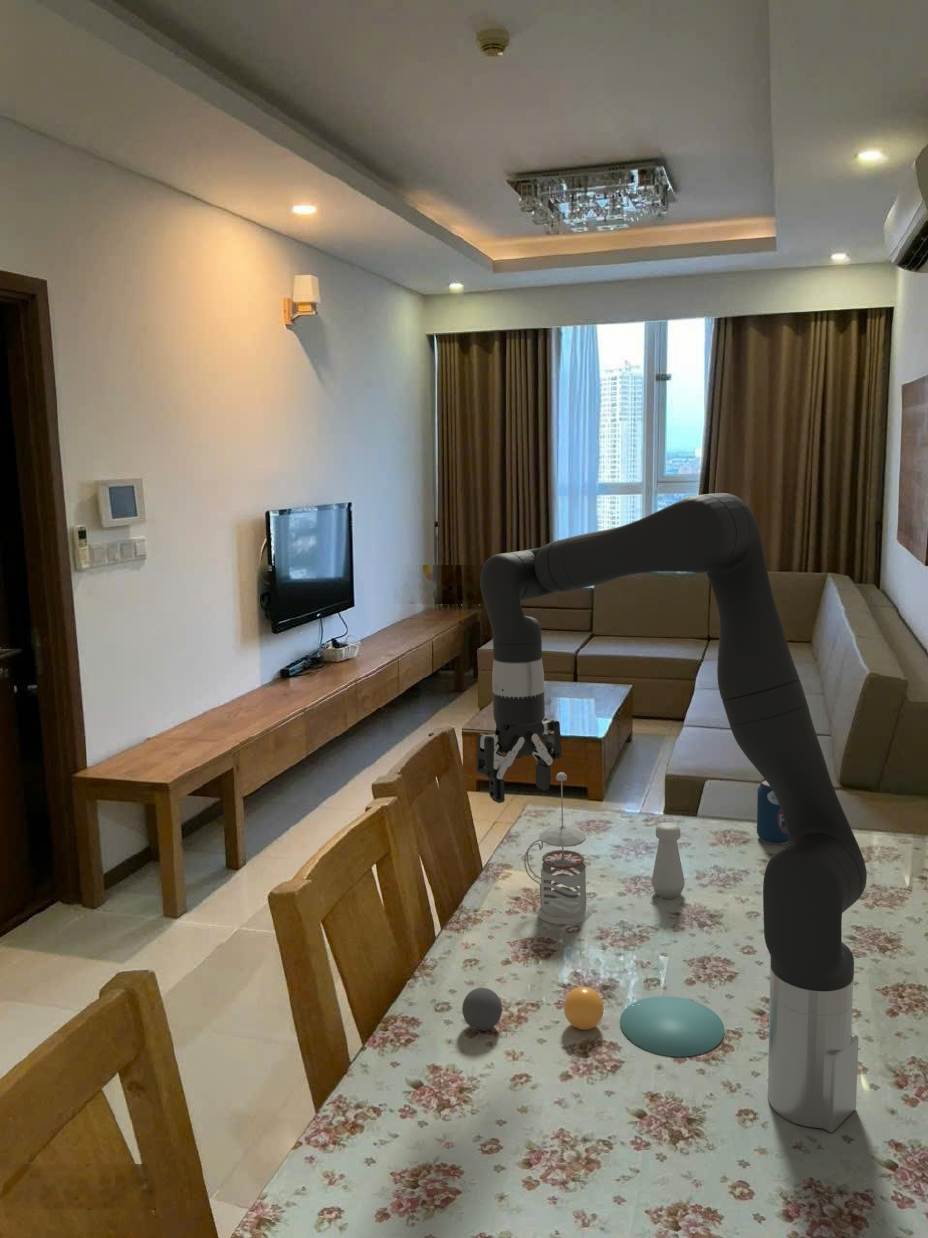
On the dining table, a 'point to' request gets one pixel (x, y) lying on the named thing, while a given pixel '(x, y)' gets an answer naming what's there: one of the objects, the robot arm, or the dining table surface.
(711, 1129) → the dining table surface
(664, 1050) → the teal mark
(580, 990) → the orange ball
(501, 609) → the robot arm
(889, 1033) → the dining table surface
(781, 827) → the soda can
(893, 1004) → the dining table surface
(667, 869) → the salt shaker
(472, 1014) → the charcoal ball
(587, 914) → the french press
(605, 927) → the dining table surface
